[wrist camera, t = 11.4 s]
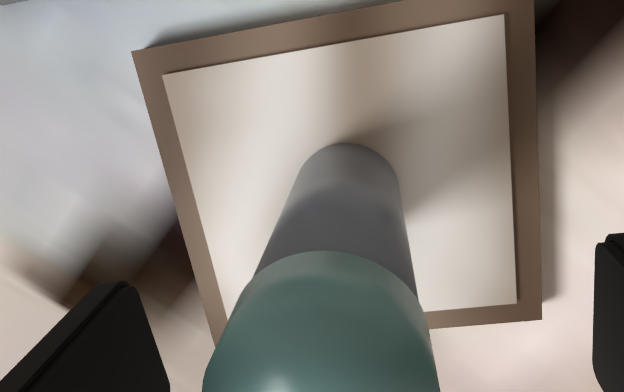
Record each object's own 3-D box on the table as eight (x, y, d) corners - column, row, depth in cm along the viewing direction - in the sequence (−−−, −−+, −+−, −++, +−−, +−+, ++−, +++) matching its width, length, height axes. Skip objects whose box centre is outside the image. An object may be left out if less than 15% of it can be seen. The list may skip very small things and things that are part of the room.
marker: (395, 132, 18) (430, 295, 8) (408, 237, 19) (452, 495, 9) (282, 149, 19) (174, 319, 8) (302, 249, 20) (231, 501, 10)
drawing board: (524, -23, 17) (535, -25, 16) (534, 306, 21) (543, 322, 20) (142, 49, 19) (128, 51, 18) (221, 333, 23) (213, 349, 22)
